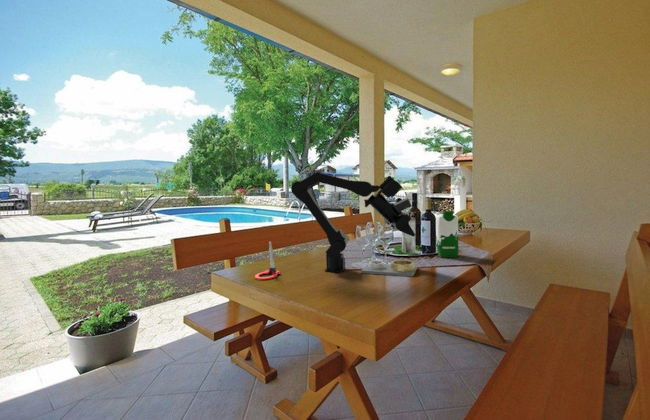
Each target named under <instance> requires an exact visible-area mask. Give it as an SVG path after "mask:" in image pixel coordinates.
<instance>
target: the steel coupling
mask: <svg viewBox="0 0 650 420" xmlns="http://www.w3.org/2000/svg"><path fill="white" fill-rule="evenodd" d="M410 217H411V216H410ZM409 225H410V227H411V228H412V230H413V232H414V233H415V234H416V217H411V220H410V221H409ZM401 252H402V253H405V254H414V253H416V235H415V236H414V237H413V236H411V235H408V234H406V233H403V232H401Z"/></svg>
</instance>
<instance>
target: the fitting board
mask: <svg viewBox="0 0 650 420" xmlns="http://www.w3.org/2000/svg"><path fill="white" fill-rule="evenodd" d="M417 269H418V266H417V265H414V271H411V272H396V271H393V270H391V264H386V263H384V268H383V269H378V270H376V269H370V268H368V263H367V265H365V266H364V267H363V268H361V270H360V273H361V274H367V275H368V274H371V275H382V276H383V275H385V276H399V277H414V275H415V274H416V272H417Z"/></svg>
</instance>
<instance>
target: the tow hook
mask: <svg viewBox="0 0 650 420" xmlns="http://www.w3.org/2000/svg"><path fill="white" fill-rule="evenodd" d="M268 245H269V247H268V249H269V250H268V251H269V266H270V267H269V269H266V270H265V271H262V272H259V273H256V274H255V275H254V279H255V278H256V279H260V280H259V281H265V280H264V279H270V280H273V279H275V278H277V277H278V274H280V275H281V274H282V271H281V270H277V267H276V266H275V260H274V253H273V246H272V241H268ZM269 273H271V274H270V276H264V275H263V274H266V275H269ZM260 275H262V277H261V276H260ZM272 278H273V279H272ZM256 279H255V280H256Z"/></svg>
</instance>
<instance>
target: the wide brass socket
mask: <svg viewBox="0 0 650 420" xmlns="http://www.w3.org/2000/svg"><path fill="white" fill-rule="evenodd" d="M390 265H391V270H393V271H396V272H411V271H414V266H415V261H412V260H408V259H396V260H392V261H391V262H390Z"/></svg>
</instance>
